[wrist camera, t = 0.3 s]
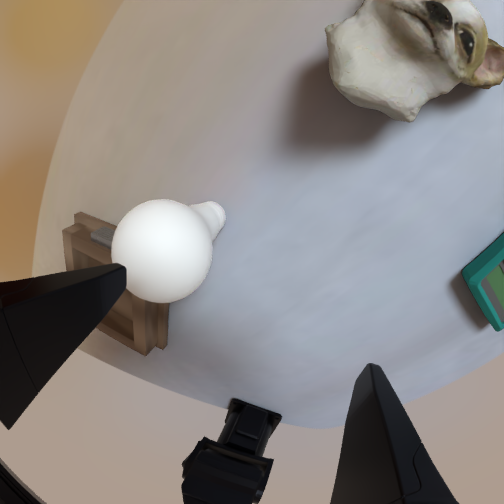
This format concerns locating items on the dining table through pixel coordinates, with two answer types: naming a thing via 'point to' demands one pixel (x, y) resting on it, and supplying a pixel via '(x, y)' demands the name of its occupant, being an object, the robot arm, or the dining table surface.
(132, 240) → the lightbulb
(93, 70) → the dining table surface
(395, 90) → the ceramic sculpture
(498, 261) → the digital multimeter
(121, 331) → the bulb holder
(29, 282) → the robot arm
